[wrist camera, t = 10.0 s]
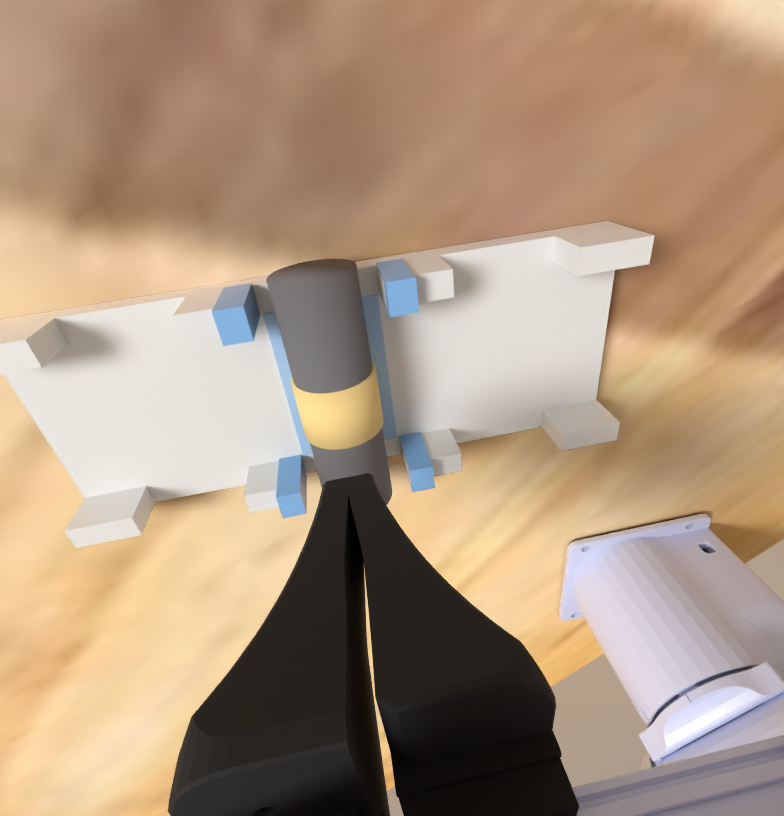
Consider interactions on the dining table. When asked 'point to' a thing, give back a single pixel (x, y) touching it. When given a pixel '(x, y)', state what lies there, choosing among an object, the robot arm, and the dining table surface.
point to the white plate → (271, 377)
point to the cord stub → (332, 368)
